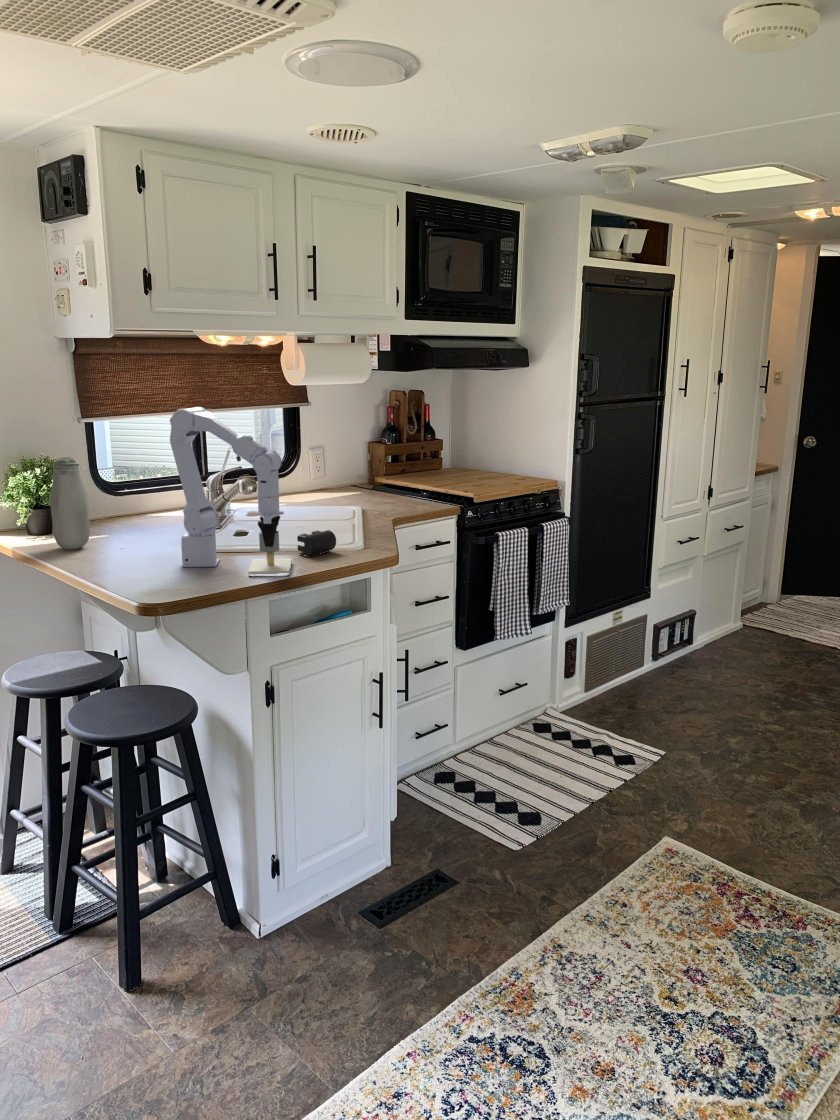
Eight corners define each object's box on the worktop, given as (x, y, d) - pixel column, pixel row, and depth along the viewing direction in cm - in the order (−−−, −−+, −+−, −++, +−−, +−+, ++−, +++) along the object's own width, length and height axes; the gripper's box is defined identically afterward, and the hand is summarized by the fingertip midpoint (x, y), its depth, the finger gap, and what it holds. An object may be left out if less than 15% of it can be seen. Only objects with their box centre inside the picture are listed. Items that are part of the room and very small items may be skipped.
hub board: (248, 576, 230) (247, 557, 229) (253, 564, 244) (252, 545, 242) (289, 576, 231) (289, 556, 230) (291, 563, 245) (291, 544, 243)
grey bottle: (78, 553, 253) (70, 460, 247) (48, 551, 256) (39, 458, 249) (98, 546, 263) (90, 455, 256) (68, 544, 265) (60, 454, 258)
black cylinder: (313, 559, 250) (313, 536, 248) (296, 555, 254) (296, 533, 253) (336, 553, 258) (336, 531, 256) (320, 549, 262) (319, 528, 260)
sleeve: (259, 552, 233) (258, 534, 232) (260, 547, 238) (260, 530, 237) (278, 551, 234) (278, 534, 233) (279, 547, 239) (278, 530, 238)
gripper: (281, 500, 226) (283, 550, 229) (284, 491, 240) (285, 538, 243) (254, 500, 225) (256, 550, 228) (259, 491, 239) (260, 538, 242)
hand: (270, 544), depth 236 cm, fingers closed on sleeve, 5 cm apart
